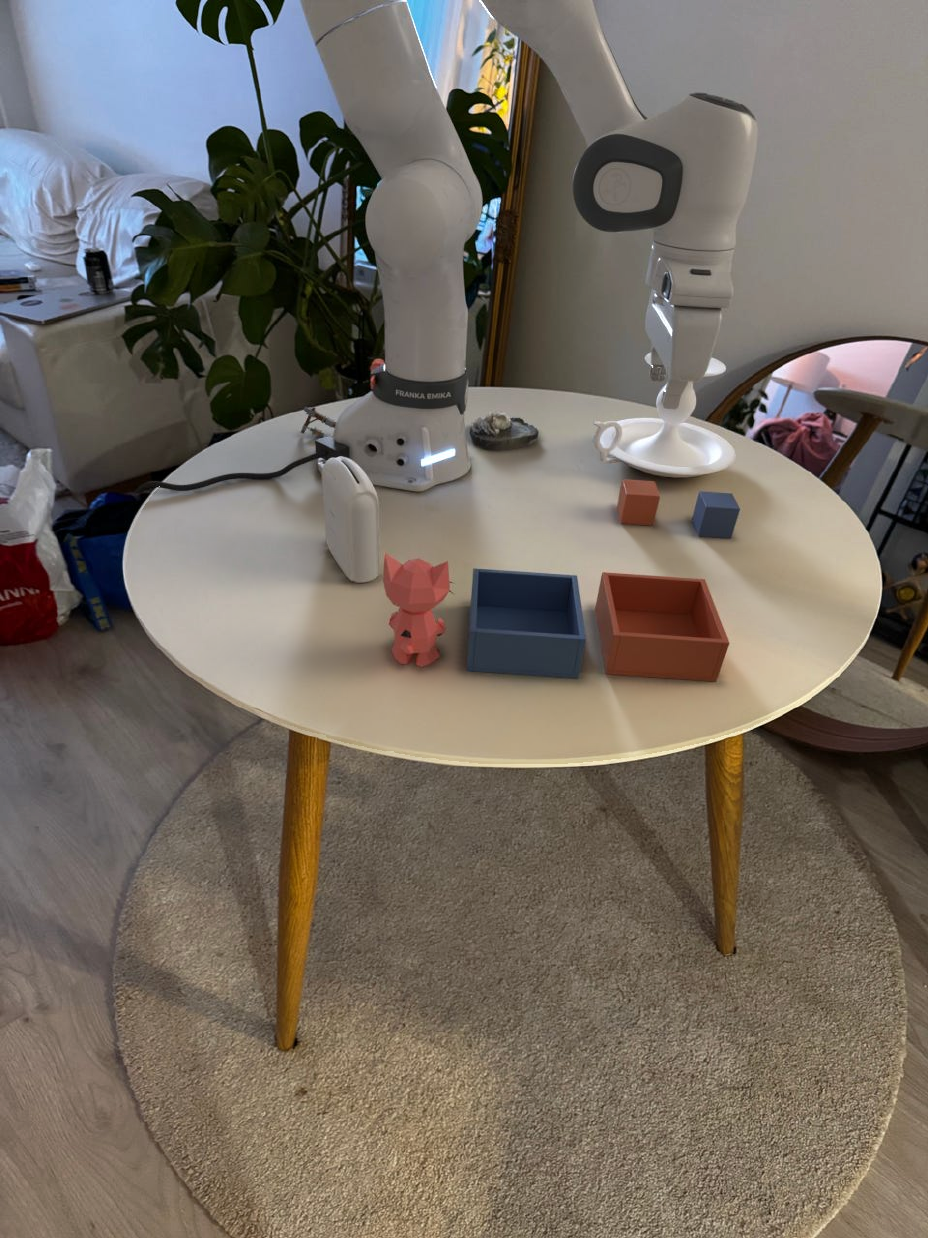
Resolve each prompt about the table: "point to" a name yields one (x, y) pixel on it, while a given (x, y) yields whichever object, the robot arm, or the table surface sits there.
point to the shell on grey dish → (502, 432)
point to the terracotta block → (638, 502)
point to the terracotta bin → (659, 627)
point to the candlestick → (666, 439)
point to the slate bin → (525, 624)
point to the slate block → (715, 514)
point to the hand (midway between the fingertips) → (662, 392)
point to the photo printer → (351, 519)
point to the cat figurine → (415, 607)
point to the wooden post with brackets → (314, 413)
